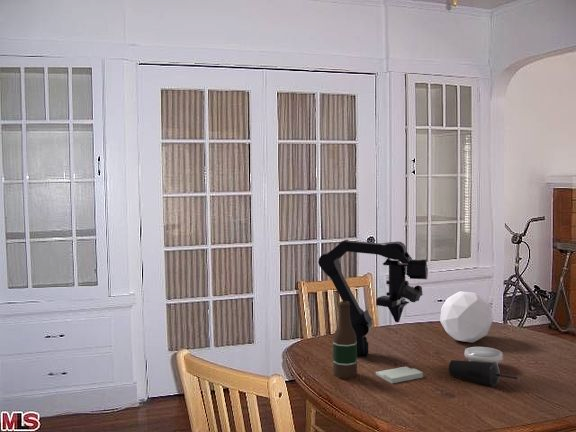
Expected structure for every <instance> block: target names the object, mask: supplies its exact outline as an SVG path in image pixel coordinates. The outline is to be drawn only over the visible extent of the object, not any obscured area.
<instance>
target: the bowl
mask: <svg viewBox="0 0 576 432" xmlns="http://www.w3.org/2000/svg"><path fill="white" fill-rule="evenodd" d="M503 356H504V353H503V352H502V351H501V350H499V349H496V348H493V347H486V346H470V347H468V348H465V350H464V358H465V359H467V361H476V362H497V364H498V365H499V363H501V362H502V361H503V358H504V357H503Z"/></svg>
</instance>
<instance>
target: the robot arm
mask: <svg viewBox="0 0 576 432" xmlns="http://www.w3.org/2000/svg"><path fill="white" fill-rule="evenodd" d="M348 252H349V253H358V254H359V253H361V254H369V255H378V256H381V257H383V258H386V260H385V261H384V262H383V263H382V265H383V266H388V280H386V283H385V285H388V292H385V295H382V296H379V297H377V298H376V299H375V300H376V301H375V305H376V306H378V307H385V308H388V310H389V311H390V314H391V316H392V319H394V322H395V323H400V320H401V317H402V313H403V310H404V309H405V307H406V306H407V305H408V304H410V303H416V302H419V301H420V298H421V297H422V296H423V295H424V294H423V288H422V287H423V286H421V285H418V284H417V285H415V286H410V285H409V284H410V283H409V281H408V280H406V276H408V278H409V279H410V280H428V274H429V268H428V263H427V259H413V258H412V257H411V255H410V254H409V253H408V251H407V247H406V245H405V243H403V242H402V241H387V242H381V243H379V242H378V243H377V242H368V241H358V240H350V239H349V240H348V239H344V240H342V241H340V242H339V244H338V245H336V246H335V247H333V248H332V249H331V250H330V251H328V252H326V253H323V254H322V255H320V257H319V258H318V262H317V263H318V266H319V268H321V270H322V272H323V273H324V274H326V275H327V276H328V277H329V279H330V280H331V282H332V283H333V286H334V287H335V289H336V291H337V293H338V295H339V297H340V298H341V301H348V302H350V306H349V308H350V322H351V326H352V328H353V329H354V331H355V333H356V338H357V358H360V357H361V358H363V357H364V358H366V357H367V358H368V357H369V341H368V340H367V339H368V338H367V337H366V335H368V333H369V332H370V331H371V330H372V328H373V318H372V317H371V316H370V313H369V311H368V310H369V309H366V310H365V311H364V310H363V309H362V308H361V307H360V305H359V304H358V301H357V300H356V298H355V296H354V294H353V292H352V290H351V288H350V286H349V283H348V282H347V280H346V278H345V276H344V274H343V273H342V266H341V262H340V259H341V258H342V257H343V256H344V255H345V254H347V253H348ZM407 300H408V301H407Z"/></svg>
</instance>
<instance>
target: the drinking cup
mask: <svg viewBox="0 0 576 432" xmlns="http://www.w3.org/2000/svg"><path fill="white" fill-rule="evenodd" d="M448 365H449V366H448V373H449V375H450V376H452V377H455V378H459V379H463V380H466V381H469V382H470V381H471V382H474V383H479V384H482V385H485V386H490V387H491V388H494V387H496V386H497V384H498V383H499V381H500V378H506V379H513V380H517V379H518V377H517V376H513V375H507V374H501V372H500V371H501V370H500V368H499V363H498V364H497V362H476V361H469V360H459V359H452V360H451V359H450V361H449V364H448Z"/></svg>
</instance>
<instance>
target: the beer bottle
mask: <svg viewBox="0 0 576 432" xmlns="http://www.w3.org/2000/svg"><path fill="white" fill-rule="evenodd" d="M338 306H339V313H338V315H339V316H338V325H337V328H336V329H335V331H334V334H333V337H332V338H333V339H332V340H333V341H332V358H333V359H332V364H333V365H332V367H333V368H332V369H333V376H335V377H337V378H339V379H344V378H345V379H347V380H348V379H353V378H355V377H356V376H357V373H358V357H357V338H356V333H355V331H354V329H353V328H352V325H351V322H350V308H349V306H350V302H348V301H342V300H341V301H339V304H338ZM345 379H344V380H345Z"/></svg>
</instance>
